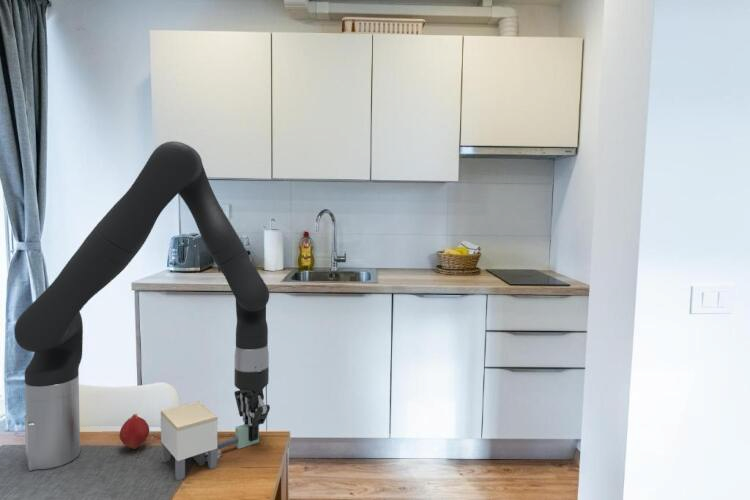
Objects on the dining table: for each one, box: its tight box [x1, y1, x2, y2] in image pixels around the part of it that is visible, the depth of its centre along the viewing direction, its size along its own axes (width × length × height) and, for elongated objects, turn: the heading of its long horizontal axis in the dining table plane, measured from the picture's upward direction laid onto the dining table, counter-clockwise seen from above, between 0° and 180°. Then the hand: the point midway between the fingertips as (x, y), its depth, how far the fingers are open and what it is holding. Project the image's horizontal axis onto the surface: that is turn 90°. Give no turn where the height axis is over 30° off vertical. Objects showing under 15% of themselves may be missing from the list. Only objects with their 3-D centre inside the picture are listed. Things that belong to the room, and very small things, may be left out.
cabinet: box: [160, 400, 218, 482], centre depth 97 cm, size 8×10×11 cm
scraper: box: [191, 424, 260, 467], centre depth 103 cm, size 14×5×4 cm, turn 131°
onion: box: [119, 413, 150, 450], centre depth 103 cm, size 6×6×8 cm
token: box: [205, 449, 222, 463], centre depth 101 cm, size 4×4×1 cm
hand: (251, 438), depth 107 cm, fingers closed
